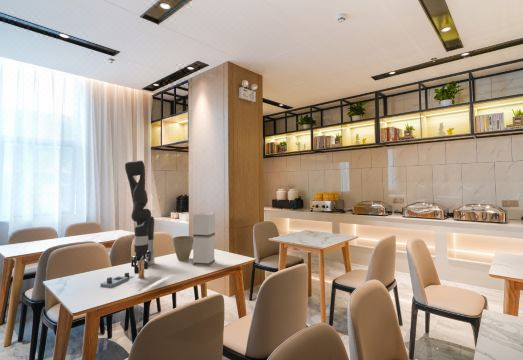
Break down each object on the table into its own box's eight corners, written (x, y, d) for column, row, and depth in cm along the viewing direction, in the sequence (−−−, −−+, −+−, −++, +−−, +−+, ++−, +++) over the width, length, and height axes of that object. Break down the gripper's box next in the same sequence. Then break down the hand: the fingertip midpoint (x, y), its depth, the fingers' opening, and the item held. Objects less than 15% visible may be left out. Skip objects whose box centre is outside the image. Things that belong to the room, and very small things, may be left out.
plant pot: (168, 261, 207) (168, 239, 207) (180, 256, 221) (180, 235, 222) (186, 263, 203) (186, 240, 203) (197, 257, 217) (197, 236, 217)
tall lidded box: (214, 262, 205) (214, 212, 205) (208, 266, 194) (208, 214, 195) (200, 261, 208) (200, 212, 208) (193, 265, 197) (193, 214, 197)
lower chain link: (124, 278, 171) (124, 271, 171) (134, 279, 169) (134, 272, 169) (108, 285, 159) (108, 278, 159) (118, 286, 157) (118, 279, 157)
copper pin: (140, 278, 170) (140, 258, 170) (145, 279, 169) (145, 258, 169) (137, 280, 167) (137, 259, 167) (141, 281, 166) (141, 260, 166)
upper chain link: (111, 290, 152) (111, 280, 152) (100, 289, 154) (100, 278, 154) (128, 282, 164) (128, 272, 164) (117, 281, 166) (118, 271, 166)
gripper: (144, 240, 176) (144, 267, 176) (127, 245, 162) (127, 274, 162) (154, 241, 174) (154, 268, 174) (138, 246, 160) (138, 275, 160)
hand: (141, 271), depth 168 cm, fingers open, 7 cm apart
